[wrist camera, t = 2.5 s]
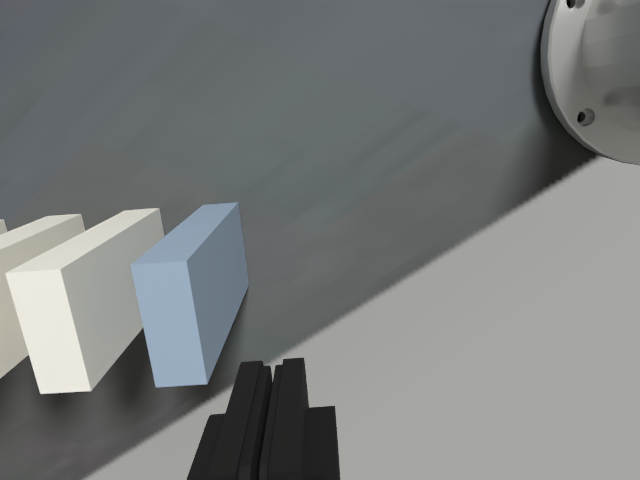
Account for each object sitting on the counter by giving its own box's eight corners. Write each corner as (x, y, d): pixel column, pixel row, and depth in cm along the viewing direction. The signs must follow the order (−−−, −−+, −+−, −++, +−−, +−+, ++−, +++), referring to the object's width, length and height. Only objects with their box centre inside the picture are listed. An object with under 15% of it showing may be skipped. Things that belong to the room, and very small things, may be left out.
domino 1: (81, 213, 26) (-64, 277, 16) (99, 294, 27) (-23, 397, 18) (46, 216, 26) (-118, 281, 16) (67, 297, 27) (-73, 400, 18)
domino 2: (159, 208, 26) (60, 269, 16) (174, 289, 27) (91, 390, 17) (124, 210, 26) (5, 273, 16) (141, 291, 27) (40, 394, 18)
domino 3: (238, 202, 25) (186, 260, 16) (248, 284, 27) (207, 384, 17) (203, 204, 26) (130, 264, 16) (215, 287, 27) (155, 387, 17)
